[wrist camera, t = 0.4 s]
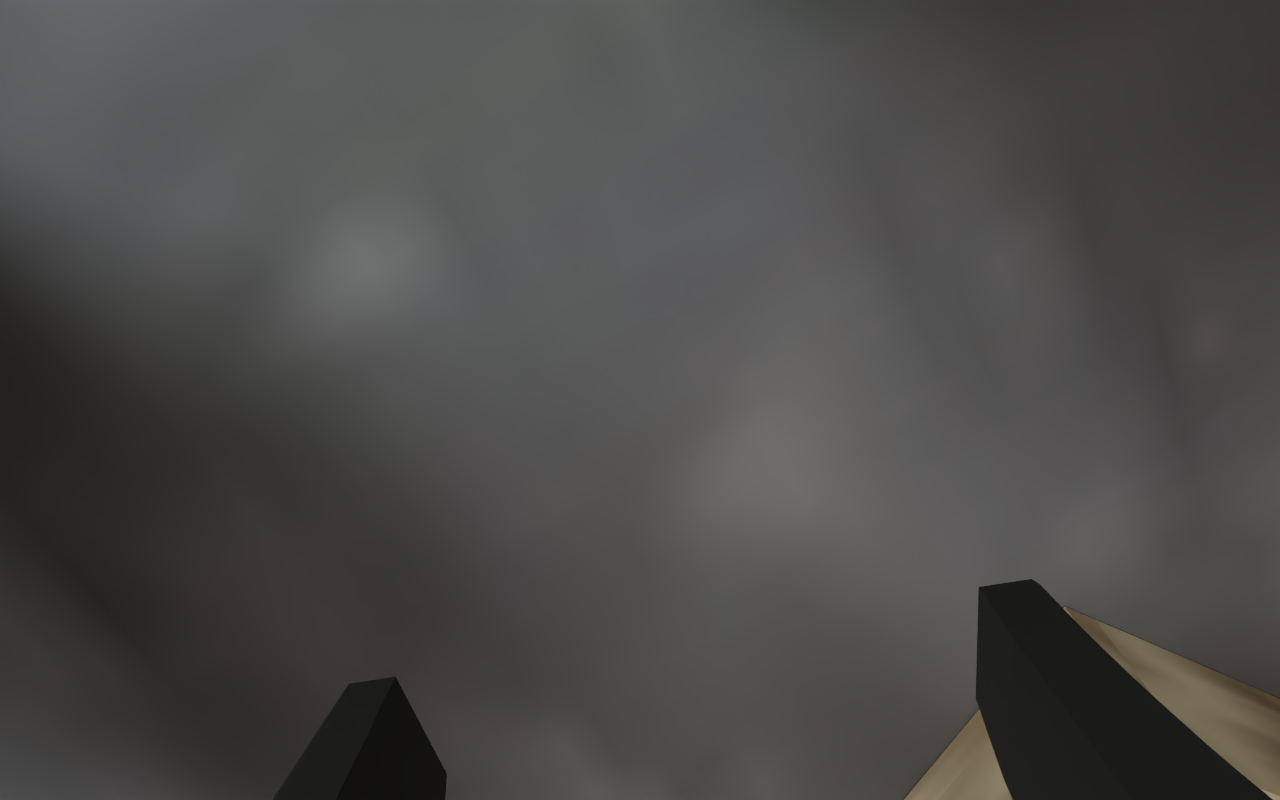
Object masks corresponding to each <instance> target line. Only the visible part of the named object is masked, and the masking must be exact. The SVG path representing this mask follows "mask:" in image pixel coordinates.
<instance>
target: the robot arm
mask: <svg viewBox="0 0 1280 800" xmlns="http://www.w3.org/2000/svg"><path fill="white" fill-rule="evenodd" d="M976 700H977V703H978V706H979V709H980V712H981V715H982V718H983V721H984V724H985V727H986V730H987V733H988V736H989V739H990V742H991V744H992V747H993V750H994V753H995V756H996V759H997V761H998V764H999V767H1000V770H1001V773H1002V776H1003V778H1004V781H1005V784H1006V786H1007V788H1008V790H1009V792H1010V795H1011V797H1012V799H1013V800H1273V799H1272V798H1270V797H1269V796H1268V795H1267V794H1266V793H1264V792H1263V791H1262V790H1261V789H1259V788H1258V787H1257V786H1256V785H1255V784H1253V783H1252V782H1251V781H1250V780H1249V779H1247V778H1246V777H1245V776H1244V775H1242V774H1241V773H1240V772H1239V771H1238V770H1236V769H1235V768H1234V767H1233V766H1232V765H1231V764H1229V763H1228V762H1227V761H1226V760H1225V759H1224V758H1222V757H1221V756H1220V755H1219V754H1218V753H1217V752H1215V751H1214V750H1213V749H1212V748H1211V747H1210V746H1208V745H1207V744H1206V743H1205V742H1204V741H1203V740H1202V739H1201V738H1199V737H1198V736H1197V735H1196V734H1195V733H1194V732H1193V731H1192V730H1191V729H1189V728H1188V727H1187V726H1186V725H1185V724H1184V723H1183V722H1182V721H1180V720H1179V719H1178V718H1177V717H1176V716H1175V715H1174V714H1173V713H1172V712H1170V711H1169V710H1168V709H1167V708H1166V707H1165V706H1164V705H1163V704H1162V703H1160V702H1159V701H1158V700H1157V699H1156V698H1155V697H1154V696H1153V695H1152V694H1150V693H1149V692H1148V691H1147V690H1146V689H1145V688H1144V687H1143V686H1142V685H1141V684H1140V683H1139V682H1138V681H1137V680H1135V679H1134V678H1133V677H1132V676H1131V675H1130V674H1129V673H1128V672H1127V671H1126V670H1125V669H1124V668H1123V667H1122V666H1121V665H1120V664H1119V663H1118V662H1117V661H1116V660H1115V659H1114V658H1112V657H1111V656H1110V655H1109V654H1108V653H1107V652H1106V651H1105V650H1104V649H1103V648H1102V647H1101V646H1100V645H1099V644H1098V643H1097V642H1096V641H1095V640H1094V639H1093V638H1092V637H1091V636H1090V635H1089V634H1088V633H1087V632H1086V631H1085V630H1084V629H1083V628H1082V627H1081V626H1080V625H1079V624H1078V623H1077V622H1076V621H1075V620H1074V619H1073V618H1072V617H1071V616H1070V615H1069V614H1068V613H1067V612H1066V611H1065V610H1064V609H1063V608H1062V607H1061V606H1060V605H1059V604H1058V603H1057V602H1056V601H1055V600H1054V599H1053V598H1052V597H1051V596H1050V595H1049V593H1048V592H1047V591H1046V590H1045V589H1044V588H1043V587H1042V586H1041V585H1040V584H1038V583H1037V582H1035V581H1034V580H1032V579H1029V580H1022V581H1016V582H1009V583H1003V584H996V585H990V586H983V587H979V600H978V638H977V675H976ZM446 777H447V774H446V772H445V770H444V768H443V766H442V764H441V762H440V760H439V758H438V756H437V755H436V753H435V751H434V749H433V747H432V745H431V743H430V741H429V739H428V737H427V736H426V734H425V732H424V730H423V728H422V726H421V724H420V722H419V720H418V719H417V717H416V715H415V713H414V711H413V709H412V707H411V705H410V703H409V701H408V700H407V698H406V696H405V694H404V692H403V690H402V688H401V686H400V684H399V682H398V681H397V679H396V677H392V678H385V679H379V680H372V681H366V682H359V683H353V684H349V685H348V687H347V688H346V690H345V691H344V692H343V694H342V695H341V697H340V698H339V700H338V701H337V703H336V704H335V706H334V707H333V709H332V710H331V712H330V713H329V715H328V716H327V718H326V719H325V721H324V722H323V724H322V725H321V727H320V728H319V730H318V731H317V733H316V734H315V736H314V737H313V739H312V741H311V742H310V744H309V745H308V747H307V748H306V750H305V751H304V753H303V754H302V756H301V757H300V759H299V760H298V762H297V763H296V765H295V766H294V768H293V769H292V771H291V773H290V774H289V776H288V777H287V779H286V780H285V782H284V783H283V785H282V786H281V788H280V789H279V791H278V792H277V794H276V795H275V797H274V798H273V800H445V793H446Z"/></svg>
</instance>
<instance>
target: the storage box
mask: <svg viewBox="0 0 1280 800" xmlns="http://www.w3.org/2000/svg"><path fill="white" fill-rule="evenodd" d="M1063 609H1064V610H1065V611H1066V612H1067V613H1068V614H1069V615H1070V616H1071V617H1072V618H1073V619H1074V620H1075V621H1076V622H1077V623H1078V624H1079V625H1080V626H1081V627H1082V628H1083V629H1084V630H1085V631H1086V632H1087V633H1088V634H1089V635H1090V636H1091V637H1092V638H1093V639H1094V640H1095V641H1096V642H1097V643H1098V644H1099V645H1100V646H1101V647H1102V648H1103V649H1104V650H1105V651H1106V652H1107V653H1108V654H1109V655H1110V656H1111V657H1112V658H1114V659H1115V660H1116V661H1117V662H1118V663H1119V664H1120V665H1121V666H1122V667H1123V668H1124V669H1125V670H1126V671H1127V672H1128V673H1129V674H1130V675H1131V676H1132V677H1133V678H1134V679H1135V680H1137V681H1138V682H1139V683H1140V684H1141V685H1142V686H1143V687H1144V688H1145V689H1146V690H1147V691H1148V692H1149V693H1150V694H1152V695H1153V696H1154V697H1155V698H1156V699H1157V700H1158V701H1159V702H1160V703H1162V704H1163V705H1164V706H1165V707H1166V708H1167V709H1168V710H1169V711H1170V712H1172V713H1173V714H1174V715H1175V716H1176V717H1177V718H1178V719H1179V720H1180V721H1182V722H1183V723H1184V724H1185V725H1186V726H1187V727H1188V728H1189V729H1191V730H1192V731H1193V732H1194V733H1195V734H1196V735H1197V736H1198V737H1199V738H1201V739H1202V740H1203V741H1204V742H1205V743H1206V744H1207V745H1208V746H1210V747H1211V748H1212V749H1213V750H1214V751H1215V752H1217V753H1218V754H1219V755H1220V756H1221V757H1222V758H1224V759H1225V760H1226V761H1227V762H1228V763H1229V764H1231V765H1232V766H1233V767H1234V768H1235V769H1236V770H1238V771H1239V772H1240V773H1241V774H1242V775H1244V776H1245V777H1246V778H1247V779H1249V780H1250V781H1251V782H1252V783H1253V784H1255V785H1256V786H1257V787H1258V788H1259V789H1261V790H1262V791H1263V792H1264V793H1266V794H1267V795H1268V796H1269V797H1270V798H1272V799H1273V800H1280V699H1279V698H1277V697H1275V696H1272V695H1270V694H1268V693H1265V692H1263V691H1261V690H1258V689H1256V688H1254V687H1251V686H1249V685H1247V684H1244V683H1242V682H1240V681H1237V680H1235V679H1233V678H1230V677H1228V676H1226V675H1223V674H1221V673H1219V672H1216V671H1214V670H1212V669H1209V668H1207V667H1205V666H1202V665H1200V664H1198V663H1195V662H1193V661H1191V660H1188V659H1186V658H1184V657H1181V656H1179V655H1177V654H1174V653H1172V652H1170V651H1168V650H1165V649H1163V648H1161V647H1158V646H1156V645H1154V644H1151V643H1149V642H1147V641H1144V640H1142V639H1140V638H1137V637H1135V636H1133V635H1130V634H1128V633H1126V632H1123V631H1121V630H1119V629H1116V628H1114V627H1112V626H1109V625H1107V624H1105V623H1102V622H1100V621H1098V620H1095V619H1093V618H1091V617H1088V616H1086V615H1084V614H1081V613H1079V612H1077V611H1074V610H1072V609H1070V608H1067V607H1064V608H1063ZM904 800H1013V799H1012V797H1011V795H1010V792H1009V790H1008V788H1007V786H1006V784H1005V781H1004V778H1003V776H1002V773H1001V770H1000V767H999V764H998V761H997V759H996V756H995V753H994V750H993V747H992V744H991V742H990V739H989V736H988V733H987V730H986V727H985V724H984V721H983V718H982V715H981V712H980V709H979V710H978V711H977V712H976V714H975V715H974V716H973V717H972V718H971V720H970V721H969V722H968V723H967V724H966V726H965V727H964V728H963V729H962V730H961V732H960V733H959V734H958V735H957V736H956V738H955V739H954V740H953V741H952V742H951V744H950V745H949V746H948V747H947V748H946V750H945V751H944V752H943V753H942V754H941V756H940V757H939V758H938V759H937V760H936V762H935V763H934V764H933V765H932V766H931V768H930V769H929V770H928V771H927V772H926V774H925V775H924V776H923V777H922V778H921V780H920V781H919V782H918V783H917V784H916V786H915V787H914V788H913V789H912V790H911V792H910V793H909V794H908V795H907V796H906V798H905V799H904Z"/></svg>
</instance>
